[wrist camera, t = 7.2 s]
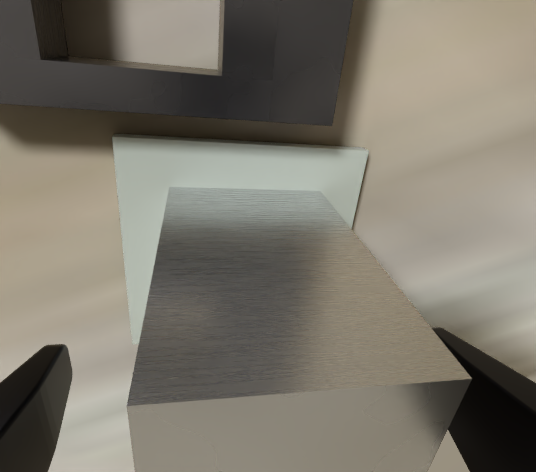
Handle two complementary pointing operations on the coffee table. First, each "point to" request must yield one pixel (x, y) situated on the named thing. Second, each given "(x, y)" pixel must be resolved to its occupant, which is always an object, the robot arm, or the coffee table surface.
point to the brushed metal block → (281, 346)
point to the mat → (214, 176)
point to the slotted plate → (186, 78)
